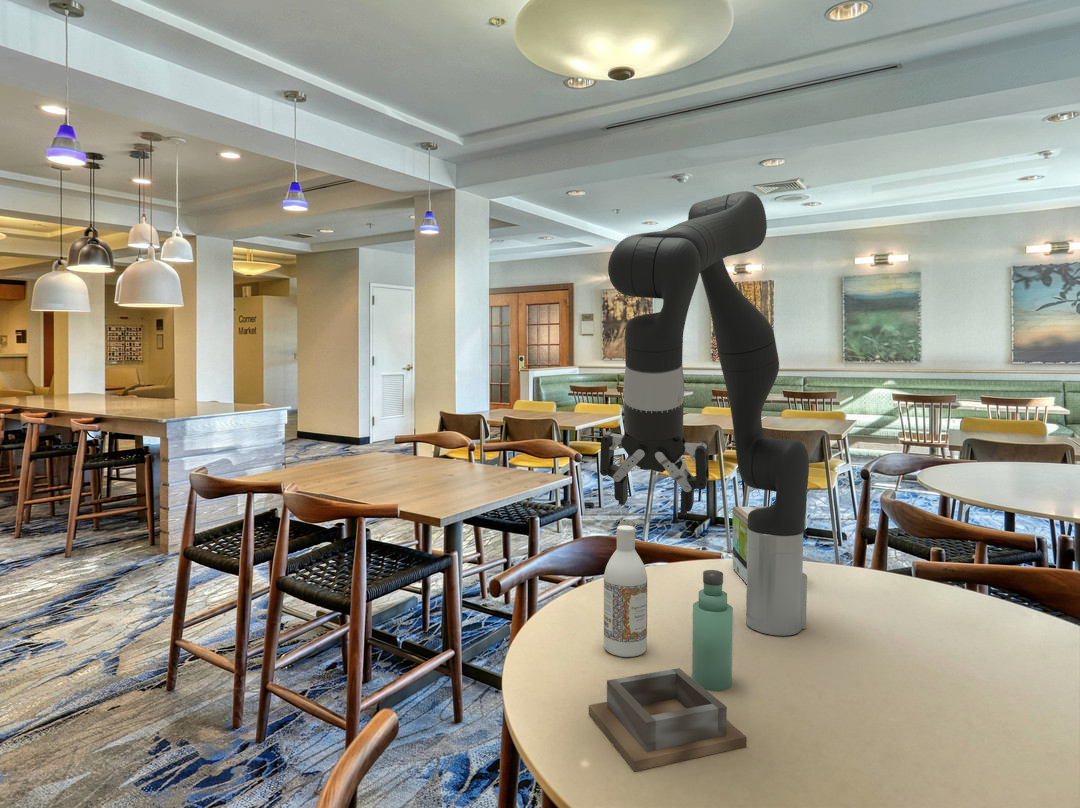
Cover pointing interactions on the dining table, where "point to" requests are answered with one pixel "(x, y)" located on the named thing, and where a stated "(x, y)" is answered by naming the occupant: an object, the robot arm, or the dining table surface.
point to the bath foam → (625, 598)
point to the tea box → (741, 539)
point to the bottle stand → (664, 719)
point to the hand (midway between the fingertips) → (653, 506)
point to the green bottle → (712, 635)
